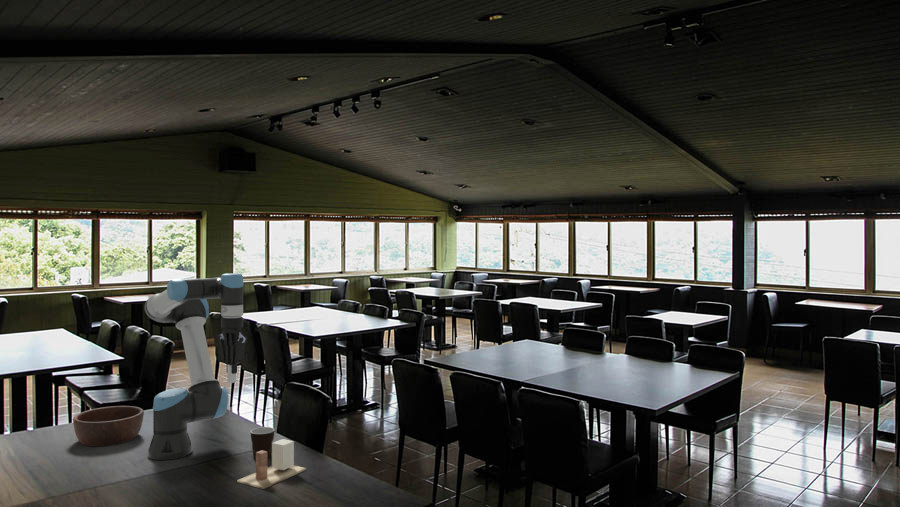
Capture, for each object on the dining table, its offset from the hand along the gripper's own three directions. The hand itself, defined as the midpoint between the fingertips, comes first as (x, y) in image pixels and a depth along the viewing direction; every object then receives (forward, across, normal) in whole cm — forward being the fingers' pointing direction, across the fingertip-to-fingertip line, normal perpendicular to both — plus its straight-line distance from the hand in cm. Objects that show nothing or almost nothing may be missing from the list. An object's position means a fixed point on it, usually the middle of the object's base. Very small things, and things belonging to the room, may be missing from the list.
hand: (231, 382), depth 225 cm
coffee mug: (+30, +4, +12) cm, 32 cm away
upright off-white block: (+28, +21, +4) cm, 35 cm away
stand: (+29, +21, -1) cm, 36 cm away
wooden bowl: (+30, -64, -5) cm, 71 cm away
